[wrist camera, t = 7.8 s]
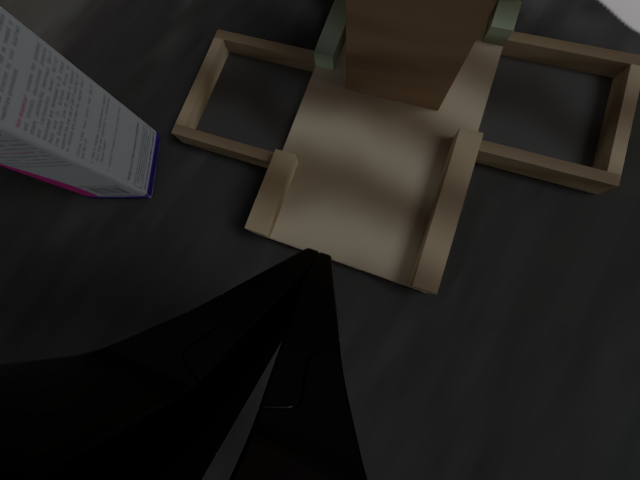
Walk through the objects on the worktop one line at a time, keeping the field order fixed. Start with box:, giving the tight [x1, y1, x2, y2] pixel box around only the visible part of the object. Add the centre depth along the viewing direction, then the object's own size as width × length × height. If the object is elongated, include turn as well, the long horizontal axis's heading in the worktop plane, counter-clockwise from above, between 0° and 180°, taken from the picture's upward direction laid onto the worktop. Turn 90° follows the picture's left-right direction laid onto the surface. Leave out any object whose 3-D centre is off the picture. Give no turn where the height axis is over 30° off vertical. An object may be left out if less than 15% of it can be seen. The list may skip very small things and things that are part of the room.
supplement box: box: [0, 6, 161, 198], centre depth 16 cm, size 6×6×12 cm
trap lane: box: [171, 0, 640, 294], centre depth 18 cm, size 23×31×4 cm
